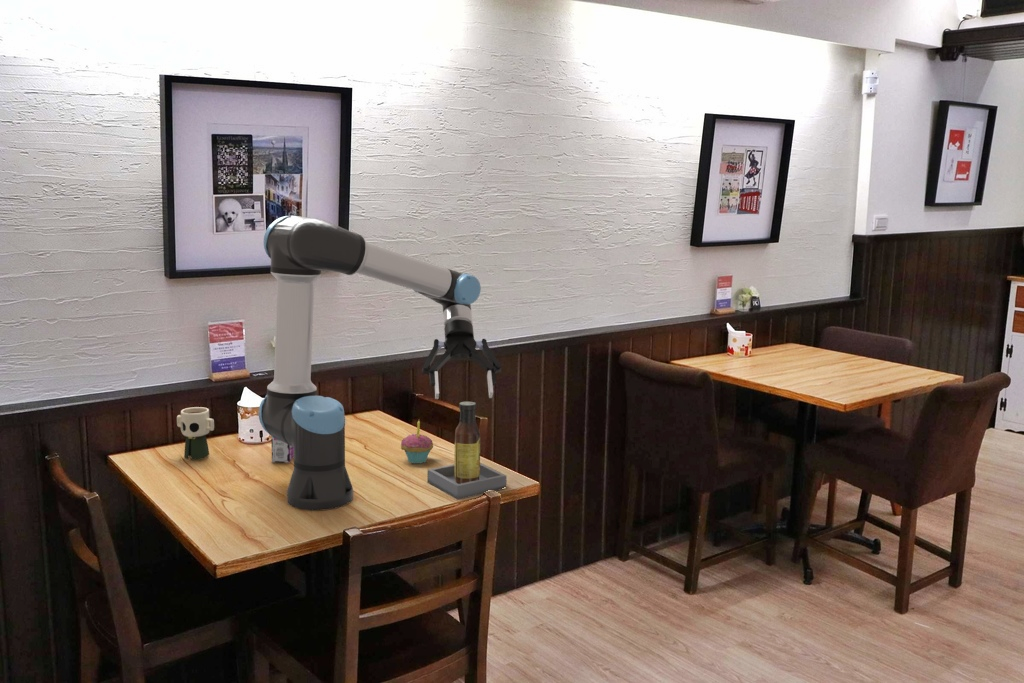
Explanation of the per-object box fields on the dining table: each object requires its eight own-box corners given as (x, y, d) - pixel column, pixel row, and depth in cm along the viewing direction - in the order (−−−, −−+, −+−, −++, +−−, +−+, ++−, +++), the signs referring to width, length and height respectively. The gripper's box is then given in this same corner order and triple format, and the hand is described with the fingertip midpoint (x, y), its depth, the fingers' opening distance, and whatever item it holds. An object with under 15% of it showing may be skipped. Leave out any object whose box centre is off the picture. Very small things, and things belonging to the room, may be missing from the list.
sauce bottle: (484, 484, 225) (487, 405, 221) (462, 488, 221) (464, 408, 218) (470, 476, 230) (473, 399, 227) (448, 479, 227) (451, 401, 223)
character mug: (170, 460, 240) (168, 411, 238) (187, 452, 247) (184, 405, 244) (207, 464, 237) (205, 415, 235) (222, 456, 244) (220, 408, 242)
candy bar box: (290, 463, 239) (289, 402, 236) (271, 463, 239) (269, 402, 236) (299, 450, 250) (297, 392, 247) (280, 450, 250) (279, 391, 247)
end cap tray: (457, 499, 216) (457, 486, 216) (427, 482, 228) (427, 469, 227) (506, 488, 224) (506, 475, 224) (475, 472, 236) (475, 460, 235)
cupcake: (436, 464, 241) (437, 420, 239) (405, 467, 238) (405, 422, 236) (427, 454, 249) (427, 411, 247) (397, 457, 246) (397, 414, 244)
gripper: (503, 334, 248) (511, 402, 236) (410, 334, 243) (413, 404, 232) (507, 317, 241) (515, 387, 230) (411, 318, 237) (415, 388, 226)
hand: (464, 395), depth 231 cm, fingers open, 13 cm apart
